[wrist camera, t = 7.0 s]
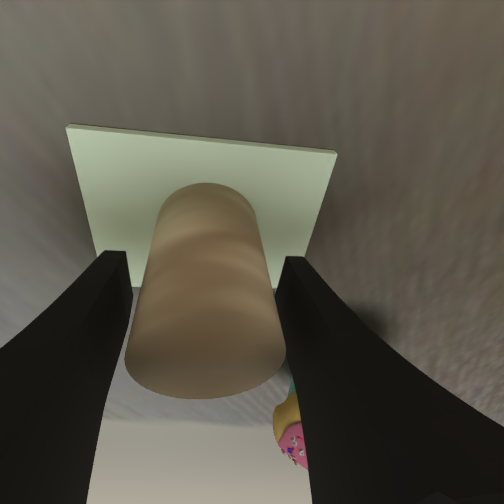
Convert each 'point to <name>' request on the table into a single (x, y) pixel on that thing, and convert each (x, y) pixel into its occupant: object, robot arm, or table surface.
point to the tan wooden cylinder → (205, 300)
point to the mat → (191, 172)
